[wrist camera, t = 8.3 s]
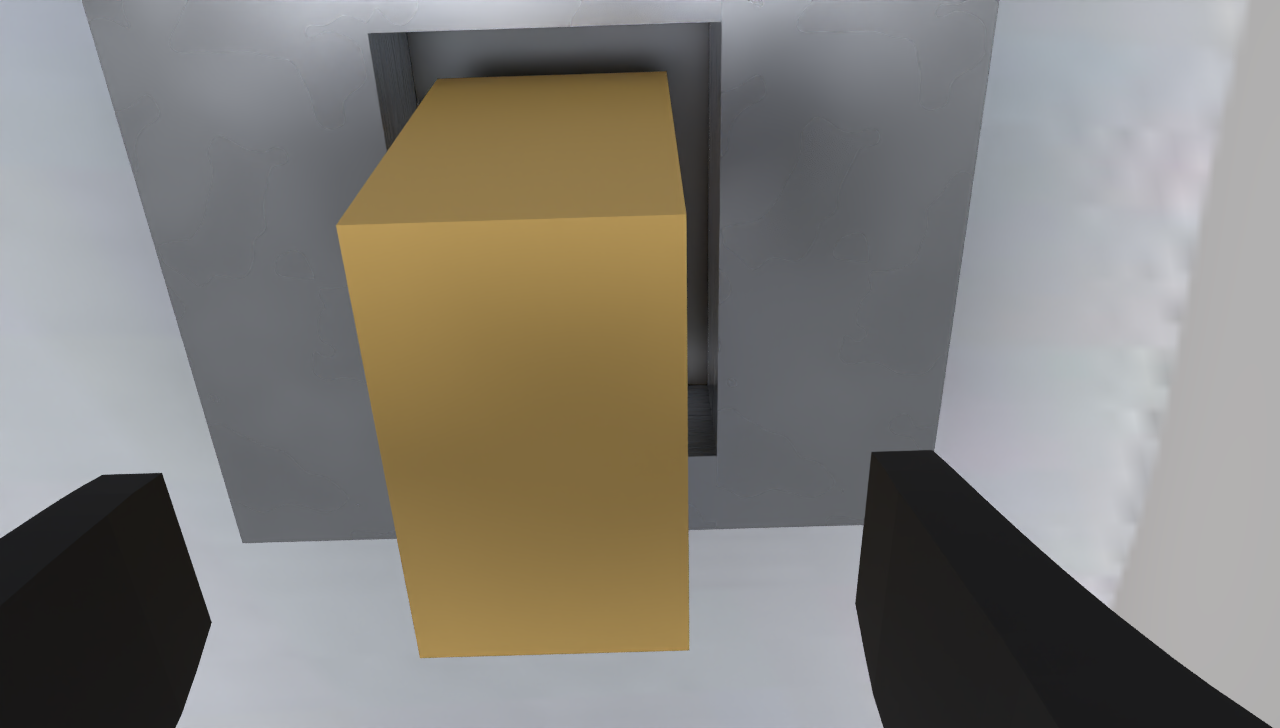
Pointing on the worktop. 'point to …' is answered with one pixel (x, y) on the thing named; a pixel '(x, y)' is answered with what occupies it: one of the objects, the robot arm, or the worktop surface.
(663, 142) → the tan rectangular block
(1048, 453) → the worktop surface
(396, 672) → the worktop surface
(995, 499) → the worktop surface
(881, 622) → the robot arm
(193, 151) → the recessed gray tray
